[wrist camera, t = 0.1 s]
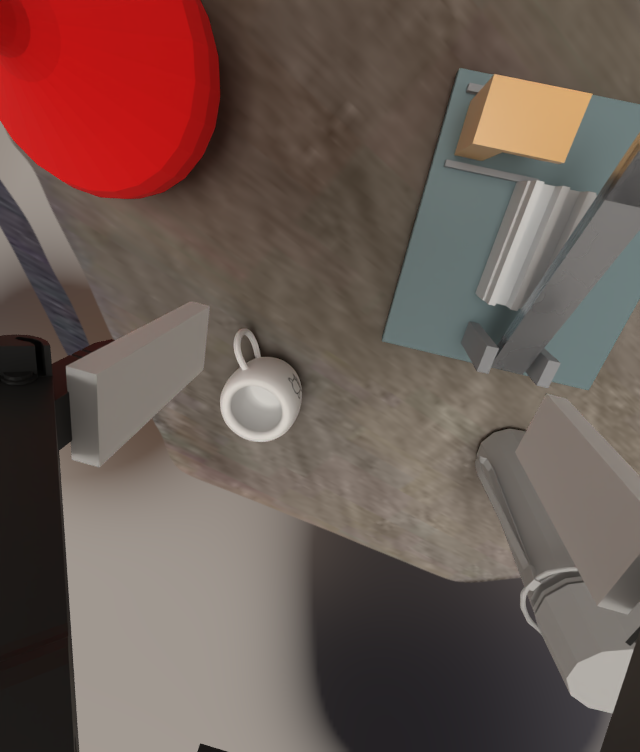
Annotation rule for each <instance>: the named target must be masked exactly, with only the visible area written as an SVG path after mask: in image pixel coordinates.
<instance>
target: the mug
mask: <svg viewBox="0 0 640 752" xmlns="http://www.w3.org/2000/svg"><path fill="white" fill-rule="evenodd" d="M243 335H246V336H247V337H248V338H249V340H250V342H251V344H252V347H253V350H254V355H255V357H256V359H253V360H251V361H249V362H247V363H246V362H245V360H244V358H243V356H242V352H241V339H242V337H243ZM234 352H235V355H236V359H237V361H238V363H239V365H240V367H239V368H238V369H237V370H236V371H235V372H234V373H233V374H232V375H231V376H230V378H229V379H228V381H227V382H226V384H225V386H224V388H223V390H222V393H221V398H220V407H221V413H222V416H223V419H224V421H225V422H226V424H227V425H228V427H229V428H230V429H231V430H232V431H233V432H235V433H236V434H237V435H239V436H240V437H242V438H244V439H247V440H250V441H255V442H266V441H271V440H274V439H276V438H278V437H280V436H282V435H283V434H285V433H286V432H287V431H288V430H289V428H290V427H291V426H292V424H293V423H294V422H295V420H296V418H297V415H298V413H299V410H300V407H301V402H302V387H301V382H300V379H299V377H298V375H297V373H296V372H295V370H294V369H293V368H292V367H291V366H290V365H289V364H288V363H286V362H285V361H283V360H281V359H278V358H274V357H261V355H260V350H259V346H258V343H257V341H256V338H255V336H254V335H253V333H252V332H251V331H250V330H249V329H245V328H242V329H240V330H239V331H238V332H237V333H236V335H235V338H234Z"/></svg>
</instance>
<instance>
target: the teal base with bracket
mask: <svg viewBox="0 0 640 752" xmlns="http://www.w3.org/2000/svg"><path fill="white" fill-rule="evenodd" d="M492 76H493V75H492V74H487V73H482V72H477V71H472V70H467V69H462V68H460V69H459V70H458V72H457V74H456V78H455V81H454V85H453V88H452V92H451V95H450V99H449V102H448V106H447V109H446V113H445V116H444V120H443V123H442V127H441V131H440V134H439V138H438V141H437V145H436V148H435V152H434V155H433V159H432V162H431V166H430V169H429V173H428V176H427V180H426V184H425V187H424V191H423V194H422V198H421V201H420V205H419V208H418V212H417V215H416V219H415V222H414V226H413V229H412V233H411V236H410V240H409V244H408V247H407V251H406V254H405V258H404V261H403V265H402V268H401V272H400V275H399V279H398V282H397V286H396V289H395V293H394V297H393V300H392V304H391V307H390V311H389V314H388V318H387V321H386V325H385V328H384V332H383V335H382V341H383V342H387V343H391V344H396V345H400V346H404V347H408V348H412V349H417V350H421V351H425V352H429V353H433V354H438V355H442V356H446V357H450V358H454V359H459V360H463V361H467V362H471V363H473V365H474V367H475V369H476V371H479V372H483V373H487V374H488V373H489V371H490V369H491V366H492V364H493V361H494V359H495V357H496V354H497V352H498V350H499V348H498V347H497V345H498V343H499V342H500V340H501V339H502V337H503V336H504V334H505V333H506V331H507V330H508V328H509V327H510V325H511V324H512V322H513V321H514V319H515V318H516V316H517V315H518V313H519V312H520V310H521V309H522V307H523V306H524V304H525V303H526V301H527V300H528V298H529V297H530V295H531V294H532V292H533V291H534V289H535V288H536V286H537V285H538V283H539V282H540V280H541V279H542V277H543V276H544V274H545V273H546V271H547V270H548V269H549V267H550V266H551V264H552V263H553V261H554V260H555V258H556V257H557V255H558V254H559V252H560V251H561V249H562V248H563V246H564V245H565V243H566V242H567V240H568V239H569V237H570V236H571V234H572V233H573V231H574V230H575V228H576V227H577V225H578V224H579V222H580V221H581V219H582V218H583V216H584V215H585V213H586V212H587V210H588V209H589V207H590V206H591V204H592V203H593V201H594V200H595V198H596V197H597V195H598V194H599V192H600V191H601V189H602V188H603V186H604V185H605V183H606V182H607V180H608V179H609V177H610V176H611V174H612V173H613V171H614V170H615V168H616V167H617V165H618V164H619V162H620V161H621V159H622V158H623V156H624V155H625V153H626V152H627V150H628V149H629V147H630V146H631V144H632V143H633V141H634V140H635V138H636V137H637V135H638V134H639V132H640V104H635V103H630V102H625V101H620V100H615V99H611V98H606V97H601V96H596V95H592V97H591V99H590V101H589V104H588V106H587V109H586V111H585V114H584V116H583V119H582V121H581V123H580V126H579V128H578V131H577V133H576V136H575V138H574V140H573V143H572V145H571V148H570V150H569V153H568V155H567V157H566V160H565V162H564V163H561V164H555V163H550V162H546V161H541V160H536V159H532V158H527V157H522V156H517V155H513V154H508V153H503V152H502V153H500V154H497V155H495V156H493V157H490V158H488V159H485V160H483V161H478V160H474V159H469V158H464V157H460V156H455V155H454V154H455V151H456V148H457V144H458V141H459V138H460V134H461V131H462V128H463V124H464V121H465V118H466V115H467V111H468V108H469V105H470V101H471V100H472V99H473V98H474V97H475V96H476V94H477V93H478V92H479V91H480V90H481V89H482V88H483V87H484V85H485V84H486V83H487V82H488V81H489V80H490V79H491V77H492ZM639 299H640V230H639V231H638V233H637V234H636V235H635V236H634V238H633V239H632V240H631V241H630V242H629V244H628V245H627V246H626V247H625V249H624V250H623V251H622V252H621V254H620V255H619V256H618V257H617V259H616V260H615V261H614V262H613V264H612V265H611V266H610V267H609V268H608V270H607V271H606V272H605V273H604V275H603V276H602V277H601V278H600V280H599V281H598V282H597V283H596V285H595V286H594V287H593V288H592V290H591V291H590V292H589V293H588V294H587V296H586V297H585V298H584V299H583V301H582V302H581V303H580V304H579V306H578V307H577V308H576V309H575V311H574V312H573V313H572V314H571V316H570V317H569V318H568V319H567V320H566V322H565V323H564V324H563V325H562V327H561V328H560V329H559V330H558V332H557V333H556V334H555V335H554V337H553V338H552V339H551V340H550V342H549V343H548V344H547V345H546V346H545V348H544V349H543V350H542V351H541V353H540V354H539V355H538V356H537V358H536V359H535V360H534V361H533V363H532V364H531V365H530V366H529V367H528V369H527V370H526V371H525V372H524V374H523V375H526V376H529V377H530V378H531V379H532V381H533V382H534V383H535V384H536V385H537V386H541V387H545V388H549V386H550V384H551V382H555V383H559V384H564V385H568V386H572V387H576V388H581V389H585V390H589V389H590V387H591V385H592V383H593V381H594V380H595V378H596V376H597V374H598V372H599V371H600V369H601V367H602V365H603V363H604V362H605V360H606V358H607V356H608V354H609V353H610V351H611V349H612V347H613V346H614V344H615V342H616V340H617V338H618V337H619V335H620V333H621V331H622V329H623V328H624V326H625V324H626V322H627V320H628V319H629V317H630V315H631V313H632V311H633V310H634V308H635V306H636V304H637V302H638V301H639ZM492 368H493V367H492ZM496 369H497V368H496ZM509 372H510V371H509ZM513 373H514V372H513ZM517 374H518V373H517Z"/></svg>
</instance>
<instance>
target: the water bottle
mask: <svg viewBox="0 0 640 752" xmlns="http://www.w3.org/2000/svg"><path fill="white" fill-rule="evenodd" d="M525 433H526V431H521V430H515V429H506V430H501V431H497V432H494V433H493V434H491V435H490V436H489V437H488V438H486V439H485V440H484V441H483V442H481V444H480V447H479V450H478V452H477V455H476V456H477V459H476V460H475V467H476V471H477V475H478V477H479V479H480V481H481V483H482V485H483V487H484V489H485V491H486V493H487V495H488V497H489V499H490V501H491V504H492V506H493V508H494V510H495V512H496V514H497V516H498V518H499V520H500V522H501V525H502V528H503V530H504V533H505V536H506V538H507V541H508V544H509V547H510V549H511V552H512V555H513V557H514V560H515V563H516V565H517V568H518V571H519V573H520V576H521V579H522V581H523V584H524V588H523V590H522V591H521V594H520V607H521V609H522V612H523V614H524V616H525V618H526V620H527V622H528V623H529V624H530V625H532V626H533V627H534V628H535V629H536V630H537V631H538V632H540V633H541V634H542V636H543V638H544V640H545V642H546V644H547V646H548V649H549V650H550V653H551V655H552V657H553V659H554V661H555V663H556V665H557V667H558V670H559V671H560V674H561V676H562V678H563V680H564V682H565V684H566V686H567V688H568V690H569V693H570V694H571V695H572V696H573V697H574V698H576V699H577V700H578V701H580V702H581V703H583V704H584V705H585V706H587V707H589V708H592V709H596V710H601V711H605V712H609V713H613V711H614V708H615V705H616V702H617V699H618V696H619V693H620V690H621V687H622V684H623V681H624V678H625V675H626V672H627V669H628V666H629V662H630V659H631V656H632V653H633V650H634V647H635V644H636V643H633V644H632V645H631V646H629V645H628V644H627V643H625V642H626V641H627V640H628V638H629V637H630V636H631V635H632V634H633V633H634V632H635V631H636V630H637V629H638V628H639V626H640V601H639V602H638V603H637V605H636V606H635V607H634V608H633V609H632V610H631V611H630V613H629V614H628V615H627V614H624V613H620V612H616V611H613V610H609V609H606V608H602V607H599V606H597V605H596V603H595V601H594V599H593V598H592V596H591V594H590V592H589V590H588V588H587V586H586V584H585V583H584V581H583V579H582V577H581V575H580V573H579V571H578V569H577V568H576V566H575V564H574V562H573V560H572V558H571V556H570V555H569V553H568V551H567V549H566V547H565V545H564V543H563V541H562V540H561V538H560V536H559V534H558V532H557V530H556V528H555V526H554V525H553V523H552V521H551V519H550V517H549V515H548V513H547V511H546V510H545V508H544V506H543V504H542V502H541V500H540V498H539V496H538V495H537V493H536V491H535V489H534V487H533V485H532V483H531V482H530V480H529V478H528V476H527V474H526V472H525V470H524V468H523V467H522V465H521V463H520V461H519V459H518V457H517V455H516V453H515V451H516V449H517V448H518V446H519V444H520V442H521V440H522V438H523V436H524V434H525ZM526 595H528V598H529V600H530V603H531V605H532V608H533V611H534V614H535V618H536V621H537V625H538V626H537V625H536V624H535V622H534V621H533V620H532V619H531V618H530V616H529V614H528V612H527V609H526V603H525V600H526Z"/></svg>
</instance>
